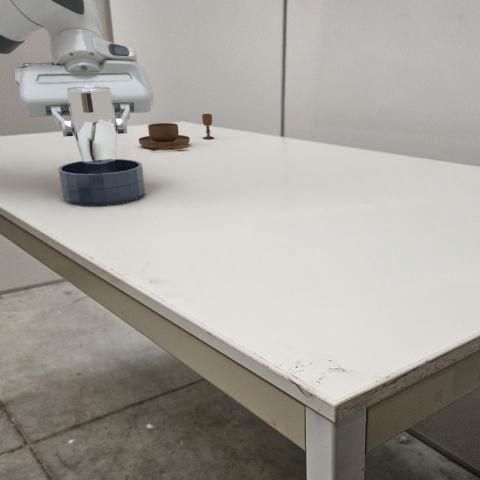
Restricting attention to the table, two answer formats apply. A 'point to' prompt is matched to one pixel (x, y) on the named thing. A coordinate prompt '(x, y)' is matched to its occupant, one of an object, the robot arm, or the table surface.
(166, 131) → the place setting
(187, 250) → the table surface
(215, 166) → the table surface
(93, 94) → the beer glass
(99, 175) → the bowl
